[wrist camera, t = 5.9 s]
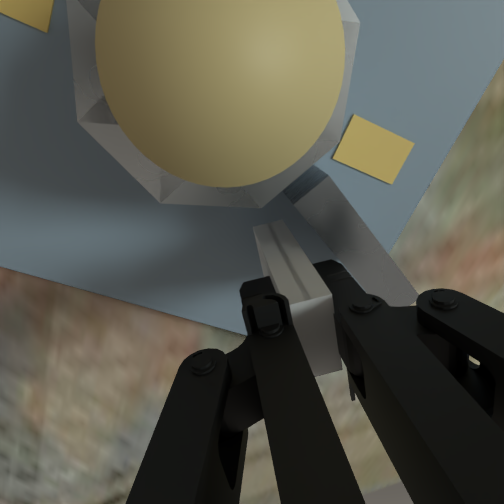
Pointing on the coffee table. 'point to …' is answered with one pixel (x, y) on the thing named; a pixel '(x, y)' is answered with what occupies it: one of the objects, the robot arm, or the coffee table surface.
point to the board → (223, 132)
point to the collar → (254, 195)
